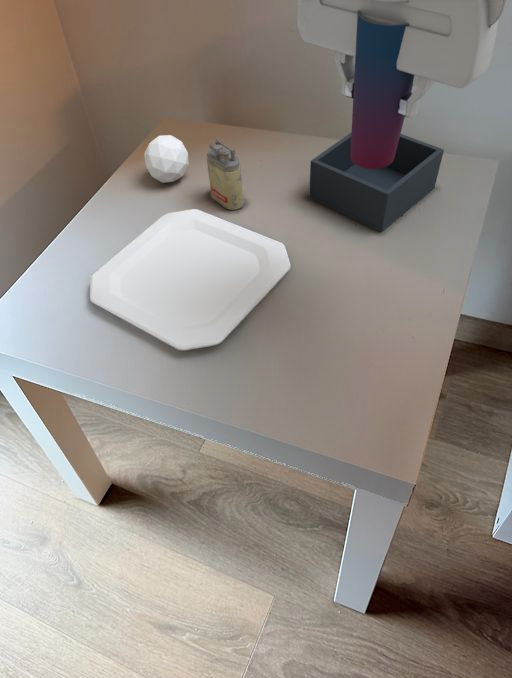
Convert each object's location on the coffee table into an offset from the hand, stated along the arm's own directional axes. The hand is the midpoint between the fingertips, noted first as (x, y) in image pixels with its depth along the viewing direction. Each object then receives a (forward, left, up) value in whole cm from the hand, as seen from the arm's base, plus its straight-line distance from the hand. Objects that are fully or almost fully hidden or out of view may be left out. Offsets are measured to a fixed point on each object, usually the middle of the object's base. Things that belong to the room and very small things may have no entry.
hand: (378, 104), depth 58 cm
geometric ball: (+42, -1, -26) cm, 49 cm away
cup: (0, 0, -6) cm, 6 cm away
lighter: (+29, -3, -26) cm, 38 cm away
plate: (+19, +15, -26) cm, 35 cm away
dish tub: (+11, -19, -25) cm, 33 cm away
